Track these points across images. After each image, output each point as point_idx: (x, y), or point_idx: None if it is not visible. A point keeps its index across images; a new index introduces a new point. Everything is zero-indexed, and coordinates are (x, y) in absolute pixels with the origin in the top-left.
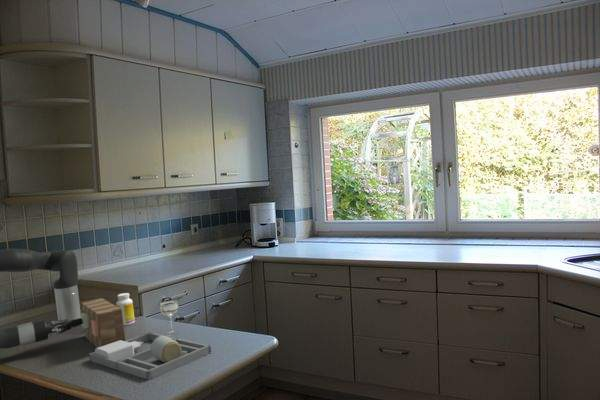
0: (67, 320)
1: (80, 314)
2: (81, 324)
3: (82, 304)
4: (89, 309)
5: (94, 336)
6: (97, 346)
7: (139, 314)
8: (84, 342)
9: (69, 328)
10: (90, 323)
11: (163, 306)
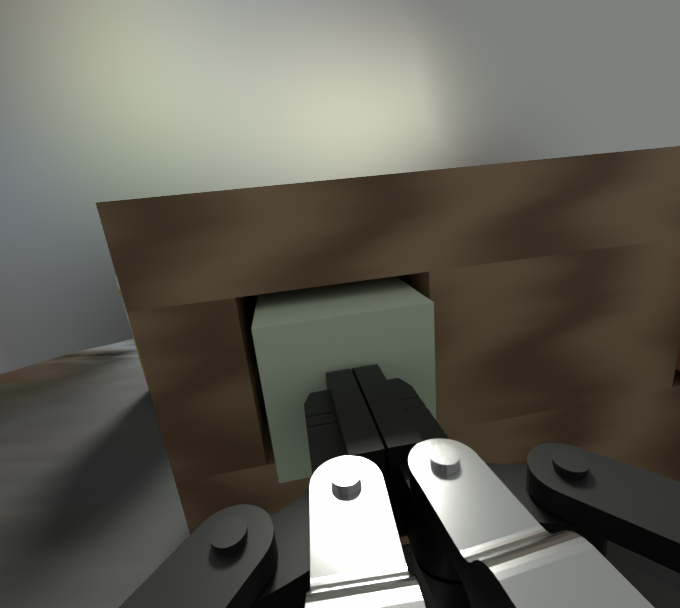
0: (337, 512)
1: (281, 334)
2: (284, 463)
3: (191, 211)
4: (584, 172)
5: (624, 422)
6: (675, 470)
7: (98, 357)
8: (422, 596)
9: (626, 569)
10: (536, 343)
11: None
